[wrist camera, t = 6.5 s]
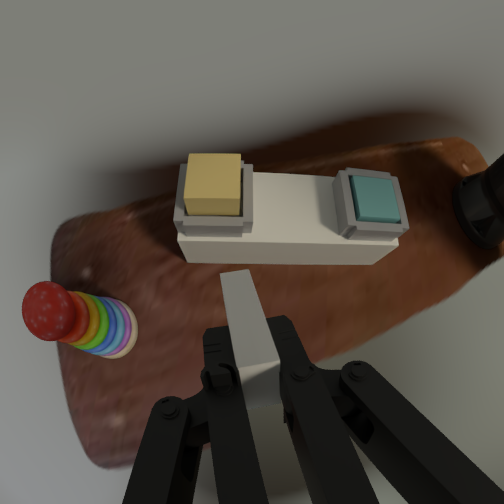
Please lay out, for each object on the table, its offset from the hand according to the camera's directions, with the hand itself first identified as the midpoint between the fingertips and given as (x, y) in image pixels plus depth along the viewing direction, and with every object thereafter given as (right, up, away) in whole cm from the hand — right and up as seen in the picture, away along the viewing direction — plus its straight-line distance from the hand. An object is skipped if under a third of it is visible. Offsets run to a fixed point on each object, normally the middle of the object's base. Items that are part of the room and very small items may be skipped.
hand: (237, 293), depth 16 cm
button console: (+5, +5, +25) cm, 26 cm away
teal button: (+15, +7, +18) cm, 25 cm away
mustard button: (-3, +8, +15) cm, 17 cm away
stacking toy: (-18, -8, +20) cm, 28 cm away
